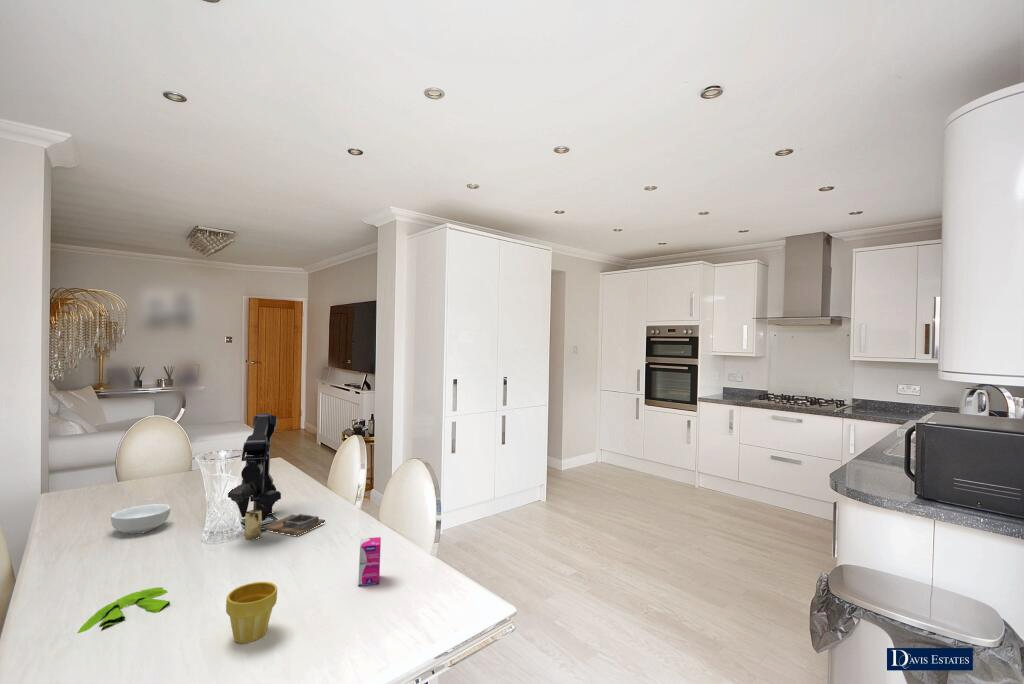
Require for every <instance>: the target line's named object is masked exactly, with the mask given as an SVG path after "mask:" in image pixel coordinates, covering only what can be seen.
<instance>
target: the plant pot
mask: <svg viewBox="0 0 1024 684" xmlns="http://www.w3.org/2000/svg"><path fill="white" fill-rule="evenodd" d="M277 599H278V586H277V585H276V584H275V583H273V582H269V581H255V582H250V583H245V584H243V585H240V586H237V587H235V588H234V589H232V590H231V591H230V592H229V593H228V594H227V595H226V601H225V602H226V604H225V612H226V615H228V617H229V621H230V626H231V632H232V637H233V640H234V641H235V642H236V643H238V644H246V643H247V644H249V643H252V642H255V641H258V640H259V639H261V638H262V637H264V636H265V635H266V634H267V630H268V626H269V622H270V619H271V614H272V611H273V608H274V607H275V605H276V604H277Z"/></svg>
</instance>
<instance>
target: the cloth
mask: <svg viewBox="0 0 1024 684" xmlns="http://www.w3.org/2000/svg"><path fill="white" fill-rule="evenodd" d="M168 593H169V592H168V590H166V589H164V587H159V586H158V587H152V588H147V589H141V590H140V591H135V592H131V593H129V594H126V595H124V596H122V597H120V598H117V599H116V600H115V601H113V602H111V603H109V604H106V605H105V606H103V607H102V608H101V609H99V610H97V611H96V612H95V613H94V614H93V615H92V616H91V617H90V618H88V619H87V620H86V621H85V622H84V624H83V625H82V626H81V627H80V628H79V630H78V631H77V632H76V634H81V633H84V632H86V631H88V630H90V629H91V628H93V626H95V625H97V624H98V623H99V622H100V621H101V620H102V619H103V620H102V621H101V622H100V623H99V626H98V627H99V628H100V627H101V626H102V625H103V624H104V623H105V622H106V623H105V624H104V626H102V628H101V629H100V631H101V632H103V629H105V627H107V626H113V625H114V626H115V625H118V624H120V623H123V622H124V621H125V619H126V616H125V615H124V613H123V611H122V609H124V608H128V607H130V606H131V607H132V606H133V605H134V604H135V605H136V607H138V608H141V609H142V610H144V611H146V612H148V613H152V614H157V613H159V612H160V611H161V610H163V609H164V608H166V607H167V606H169V605H171V601H170V600H165V599H156V598H157V597H160V596H163V595H165V594H168Z"/></svg>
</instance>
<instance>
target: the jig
mask: <svg viewBox="0 0 1024 684" xmlns="http://www.w3.org/2000/svg"><path fill="white" fill-rule="evenodd" d="M324 522H325V523H326V520H325V519H322V518H320V517H319V516H316V515H311V514H304V513H300V514H297V515H296V514H289V515H287V516H285V517H283V518H281V519H280V518H279V520H276V521H273V522H271V523H268V524H266V525H263V526H262V529H263V528H265V529H267V530H269V531H273V532H278V533H284V534H290V535H296V536H298V535H300V534H302V533H304V532H306V531H308V530H310V529H312V528H314V527H316V526H318V525H320V524H321V523H324Z"/></svg>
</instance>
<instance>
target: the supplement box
mask: <svg viewBox="0 0 1024 684" xmlns="http://www.w3.org/2000/svg"><path fill="white" fill-rule="evenodd" d="M381 538H382V537H381V536H377V537H376V536H375V537H366V538H365V537H364V538H360V541H359V542H360V544H359V561H358V562H359V563H358V564H359V565H358V580H357V581H358V587H363V586H371V585H372V586H373V585H379V584H380V574H381V572H380V568H381V543H382V542H381V541H382V539H381Z"/></svg>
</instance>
